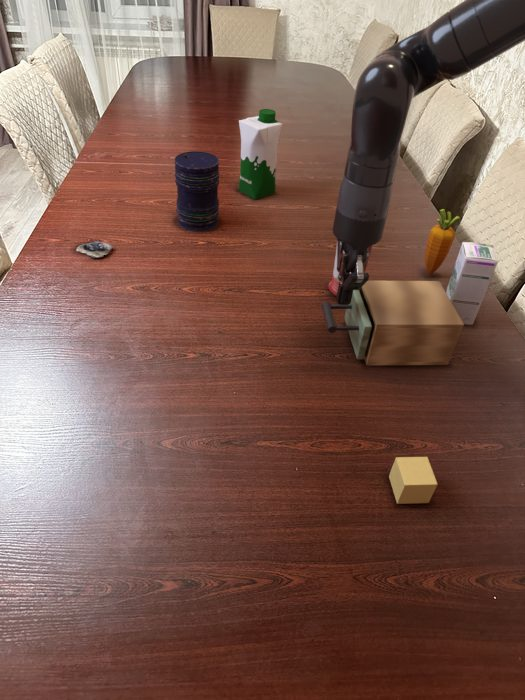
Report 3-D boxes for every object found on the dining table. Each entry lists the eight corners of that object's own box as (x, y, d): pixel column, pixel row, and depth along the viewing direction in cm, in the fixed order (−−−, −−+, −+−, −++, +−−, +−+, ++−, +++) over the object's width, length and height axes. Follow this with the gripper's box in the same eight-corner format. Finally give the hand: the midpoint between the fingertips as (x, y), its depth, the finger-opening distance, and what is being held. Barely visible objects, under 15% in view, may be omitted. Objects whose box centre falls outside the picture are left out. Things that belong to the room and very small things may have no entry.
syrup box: (473, 326, 100) (501, 260, 90) (442, 321, 100) (466, 256, 91) (469, 308, 104) (495, 244, 95) (439, 304, 105) (462, 240, 95)
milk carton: (280, 193, 138) (287, 115, 125) (254, 202, 134) (258, 121, 120) (258, 182, 143) (262, 105, 130) (232, 190, 138) (234, 110, 125)
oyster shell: (104, 262, 109) (103, 254, 108) (68, 256, 110) (67, 248, 108) (117, 246, 114) (116, 238, 113) (83, 240, 115) (82, 232, 113)
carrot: (445, 278, 112) (468, 214, 102) (428, 283, 110) (449, 219, 100) (429, 266, 115) (449, 203, 105) (412, 272, 113) (431, 208, 103)
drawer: (326, 359, 89) (332, 326, 84) (316, 318, 97) (321, 285, 92) (432, 359, 91) (445, 326, 86) (413, 318, 99) (424, 286, 94)
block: (418, 475, 73) (427, 456, 70) (428, 503, 70) (438, 484, 67) (388, 476, 73) (395, 457, 70) (396, 504, 69) (404, 485, 67)
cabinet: (366, 365, 90) (377, 324, 84) (351, 320, 99) (360, 280, 93) (447, 365, 91) (464, 324, 85) (425, 320, 100) (439, 280, 94)
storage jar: (226, 218, 126) (227, 157, 116) (206, 235, 119) (205, 172, 110) (190, 208, 129) (188, 147, 119) (169, 224, 122) (165, 162, 112)
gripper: (399, 229, 72) (373, 326, 83) (376, 188, 82) (356, 280, 93) (346, 228, 71) (327, 326, 83) (329, 186, 81) (315, 279, 93)
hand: (342, 301), depth 88 cm, fingers closed
